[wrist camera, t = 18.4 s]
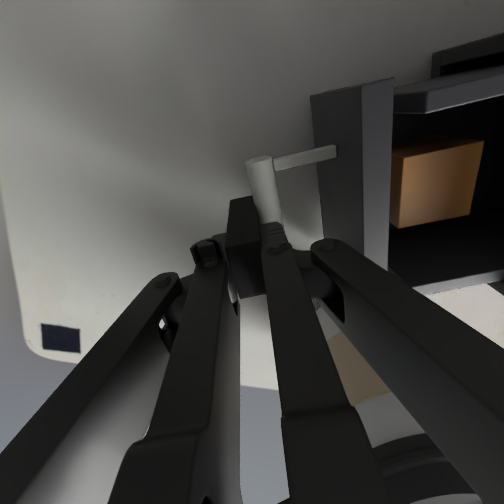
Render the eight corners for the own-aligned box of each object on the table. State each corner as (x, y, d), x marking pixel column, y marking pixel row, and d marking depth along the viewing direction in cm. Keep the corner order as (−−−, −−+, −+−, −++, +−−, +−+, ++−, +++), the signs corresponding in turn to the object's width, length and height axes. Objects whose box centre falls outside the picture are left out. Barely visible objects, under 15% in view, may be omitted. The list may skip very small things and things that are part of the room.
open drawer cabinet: (269, 264, 22) (282, 334, 15) (235, 114, 16) (232, 117, 10) (495, 217, 21) (622, 270, 14) (539, 37, 15) (783, -22, 8)
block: (368, 206, 19) (398, 228, 15) (369, 147, 17) (403, 157, 13) (425, 194, 18) (469, 215, 15) (433, 134, 16) (485, 140, 13)
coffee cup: (380, 275, 24) (552, 476, 11) (392, 340, 28) (526, 543, 15) (286, 305, 25) (338, 519, 12) (310, 363, 29) (368, 569, 16)
